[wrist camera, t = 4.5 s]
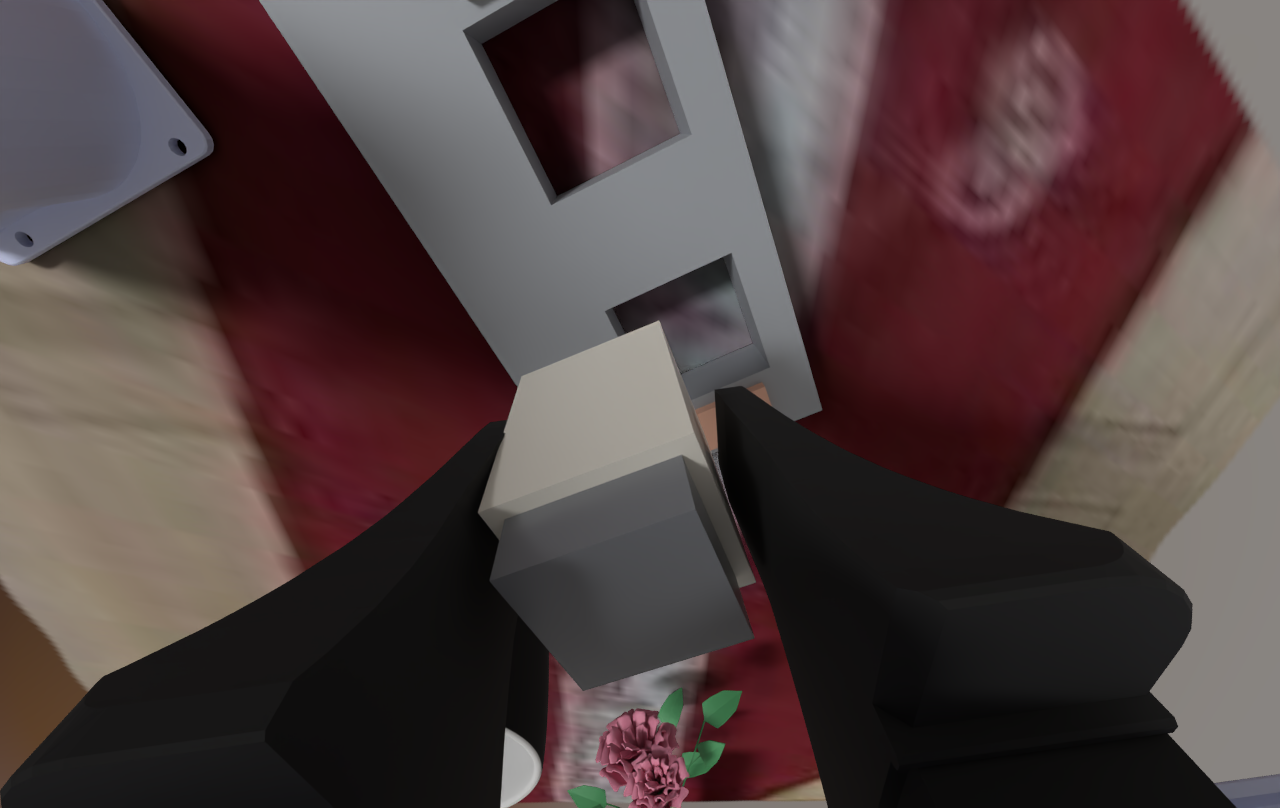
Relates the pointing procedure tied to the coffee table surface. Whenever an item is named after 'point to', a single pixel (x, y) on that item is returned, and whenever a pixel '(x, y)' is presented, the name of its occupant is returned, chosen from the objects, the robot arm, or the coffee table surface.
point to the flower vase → (655, 754)
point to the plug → (615, 515)
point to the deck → (526, 202)
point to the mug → (525, 716)
